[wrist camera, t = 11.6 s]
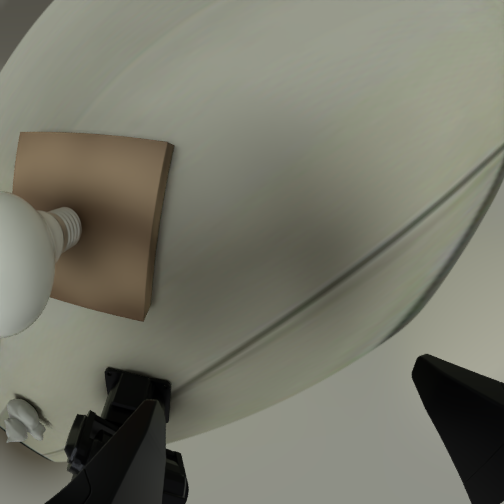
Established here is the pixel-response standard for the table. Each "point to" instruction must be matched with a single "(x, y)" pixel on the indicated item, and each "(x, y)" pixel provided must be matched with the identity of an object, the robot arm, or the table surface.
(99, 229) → the walnut plinth
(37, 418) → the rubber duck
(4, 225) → the lightbulb
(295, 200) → the table surface
